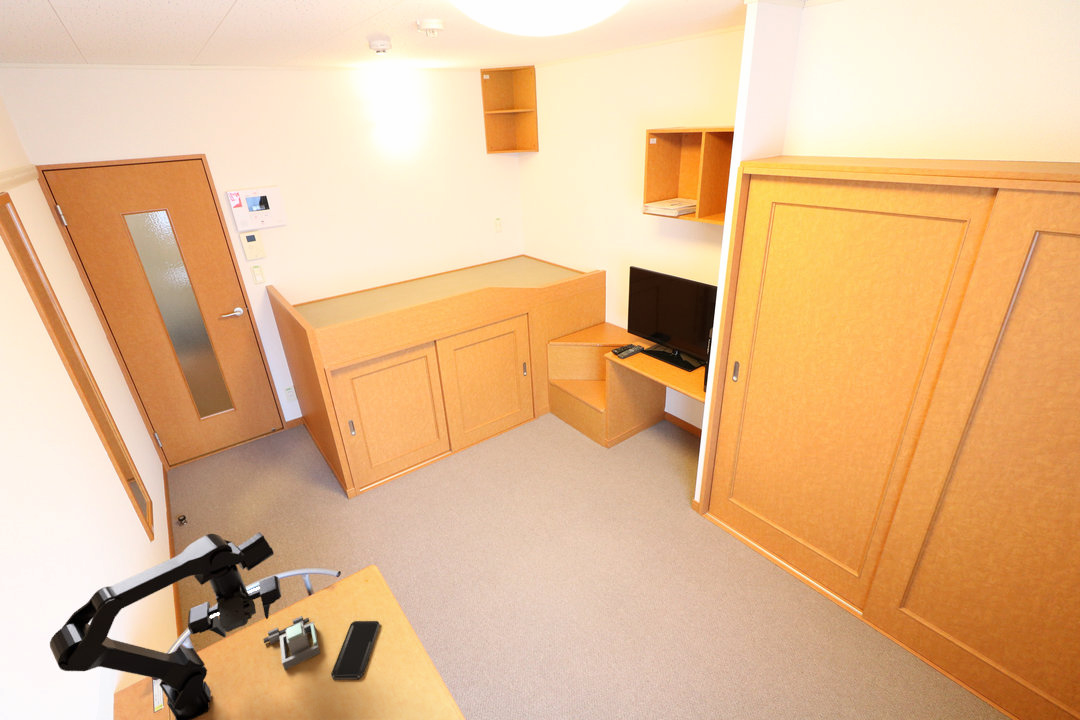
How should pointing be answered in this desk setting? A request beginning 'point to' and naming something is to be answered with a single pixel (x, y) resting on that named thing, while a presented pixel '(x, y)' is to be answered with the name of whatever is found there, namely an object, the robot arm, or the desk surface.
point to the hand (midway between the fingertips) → (246, 626)
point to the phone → (355, 650)
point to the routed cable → (276, 633)
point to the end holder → (302, 655)
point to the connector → (297, 638)
